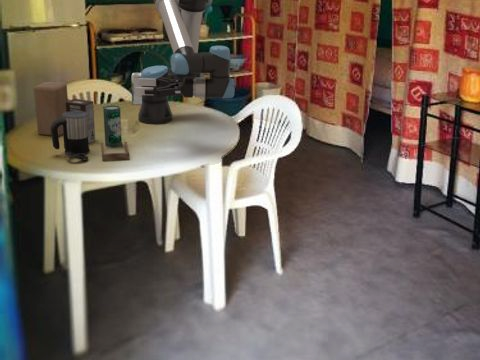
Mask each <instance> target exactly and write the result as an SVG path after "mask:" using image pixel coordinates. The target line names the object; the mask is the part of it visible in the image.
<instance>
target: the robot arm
mask: <svg viewBox="0 0 480 360" xmlns="http://www.w3.org/2000/svg"><path fill="white" fill-rule="evenodd" d="M212 2H213V0H153V3H154V6H155V9H156V10H157V11H158V12H159V13H160V16H161V20H162V22H163V25H164V29H165V31H166V35H167V37H168V40H169V43H170V47H171V49H172V53H173V54H172V55H171V56H170V68H168V66H166V65H153V66H148V67H146V68H144V69H142V71H141V72H140V73H141V78H139V86H141V87H136V88H135V90H136V95H142V104H141V105H140V108H139V112H138V116H137V117H138V121H139V122H140V123H143V124H147V125H148V124H149V125H161V124H166V123H170V122H172V121H173V113H172V112H173V111H172V110H171V107H170V102H169V97H170V96H173V97H174V96H183V98H186V99H188V98H193V97H194V98H199V99H200V100H203V98H205V99H207V98H208V99H232V98H233V97H234V96H235V88H236V87H235V85H236V84H235V78H231V76H230V69H231V68H230V66H231V51H230V48H229V47H227V46H225V45H212V46H211V47H209V51H208V52H207V51H205V52H198V51H199V44H200V43H199V42H200V35H201V34H200V33H201V26H202V25H201V24H202V16H203V13H204V12H205V11H206V10H207V5H210V4H212ZM204 74H209V77H204Z"/></svg>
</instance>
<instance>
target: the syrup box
mask: <svg viewBox="0 0 480 360" xmlns="http://www.w3.org/2000/svg"><path fill="white" fill-rule="evenodd" d="M139 78H141V72H132V74H131V80H130V81H131V105H132V106H133V105H140V106H141V104H142V95H136V90H135V88H136V87H141V86H139Z"/></svg>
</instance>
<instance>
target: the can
mask: <svg viewBox="0 0 480 360" xmlns="http://www.w3.org/2000/svg"><path fill="white" fill-rule="evenodd" d="M121 117H122V115H121V107H120V106H119V105H113V104H112V105H106V106H103V126H104V127H103V128H104V145H105V146H104V147H108V148H118V147H122V145H123V142H122V140H123V139H122V118H121Z"/></svg>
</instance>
